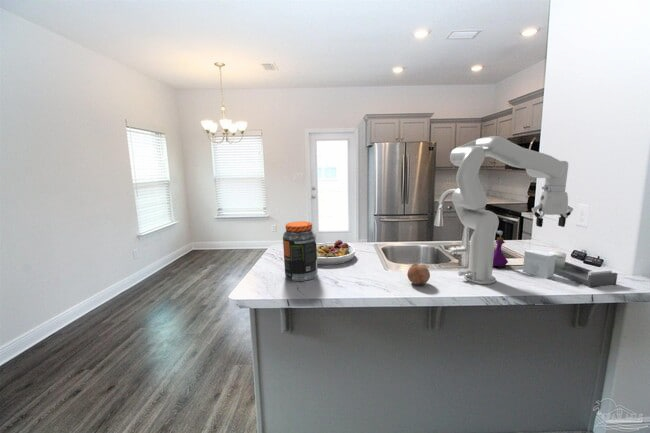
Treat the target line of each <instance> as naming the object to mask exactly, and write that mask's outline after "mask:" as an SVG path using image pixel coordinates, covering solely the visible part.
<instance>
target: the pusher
mask: <svg viewBox="0 0 650 433" xmlns="http://www.w3.org/2000/svg"><path fill="white" fill-rule="evenodd" d="M605 273H613V270H611V269H603V270H601V269H600V270H592V271H590V272H588V277H589V275H595V274H605ZM587 280H588V279H587Z"/></svg>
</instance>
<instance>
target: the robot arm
mask: <svg viewBox="0 0 650 433" xmlns="http://www.w3.org/2000/svg"><path fill="white" fill-rule="evenodd" d="M486 157H489V158H492V159H495V160H497V161H499V162H501V163H503V164H505V165H508V166H510V167H512V168H518V169H524V170H525V171H526V174H527V175H528V177H531V178H536V179H544V180H545V181H544V185H543V186H542V187H541V189H542V190H543V191H542V192H541V195H540V199H539V203H538V205H536V206H534V207H532V208H531V212H532V213H533V215H534V216H535V218H536V220H535V225H536V226H537V227H539V228H543V223H544V222H543V221H544V218H543V217H544V216H546V215H549V216H550V215H553V216H554V215H555V216H556V215H557V216H558V215H559V217H558V223H557V226H559V227H562V228H565V226H566V222H567V218H568V217H570V215H571V214H572V212H573V211H574V208H573V207H571V206H569V198H568V197H569V196H568V192H567V191H566V189H567V188H566V186H567V178H568V170H569V162H568V161H567V160H560V159H558V158H555V157H554V156H552V155H549V154H548V153H543V152H540V151H536V150H532V149H529V148H525V147H522V146H520V145H518V144H516V143H514V142H512V141H511V140H508V139H506V138H504V137H502V136H498V135H491V136H483V137H480V138H477V139H475V140H472V141H469V142H467V143H465V144H462V145H460V146H457V147H455V148H453V150H451V152H450V154H449V161H450V163H451V164H452V165H453V166H455V167H458V170H457V172H456V176H455V179H456V180H455V181H456V184H457V188H456V189H455V190H454V191H453V193H452V195H451V201H452V204H453V207H454V209H455V212H456V214H457V216H458V219H459V221H460V222H461V224H462V225H463V226H465V227H467V228H469V229H473V232H472V234H471V236H470V240H469V241H470V242H469V252H468V253H469V256H468V267H467V268H466V269H465V270H464V271H463V270H462V271H458V272H457V274H458V276H459V277H461V276H464V279H465V280H466V281H468V282H471V283H474V284H479V285H492V284H495V283H496V277H495V276H494V275H493V267H494V266H493V256H494V251H495V243H496V242H495V241H496V234H497V232H496V231H498V228H499V224H500V220H499V217H498V216H497V214H496V213H495V212H493V211H491V210H487V209H485V207H486V206H487V202H488V200H487V196H486V193H485V190H484V188H483V186H482V183H481V181H480V178H479V172H480V168H481V166H482V164H483V163H484V161H485V158H486Z"/></svg>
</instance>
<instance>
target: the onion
mask: <svg viewBox="0 0 650 433" xmlns="http://www.w3.org/2000/svg"><path fill="white" fill-rule="evenodd" d="M406 276H407V279H408V280H409V281H410V282H411V283H412V284H414V285H417V286H420V287H421V286H424V285H426V283H428V281H429V280H430V277H431V274H430V270H429V269H428V268H427V267H426V266H425V265H420V264H418V263H413V264H411V267H409V268H408V271H407V275H406Z"/></svg>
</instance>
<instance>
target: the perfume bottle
mask: <svg viewBox="0 0 650 433" xmlns="http://www.w3.org/2000/svg"><path fill="white" fill-rule="evenodd" d="M503 232H504V231H502V230H497V231H496V234H497V235H499V237H496V239H495V242H494V243H496V248H495V249H494V256H493V267H494V266H498V267H497V268H504V266H506V265H507V264H508V263H509V260H508V259H507V258H506V257H505V255H504V254H503V252H502V246H503V245H504V244H505V243H506V242H505V241H504V240H505V239H504V237H502V235H503Z"/></svg>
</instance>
